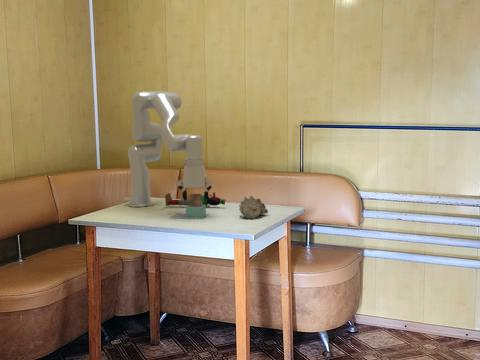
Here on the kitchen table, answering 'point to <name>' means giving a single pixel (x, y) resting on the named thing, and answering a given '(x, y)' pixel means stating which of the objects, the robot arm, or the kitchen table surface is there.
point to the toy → (169, 201)
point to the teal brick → (196, 211)
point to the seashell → (252, 208)
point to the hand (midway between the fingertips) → (195, 200)
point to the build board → (183, 216)
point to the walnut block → (195, 200)
